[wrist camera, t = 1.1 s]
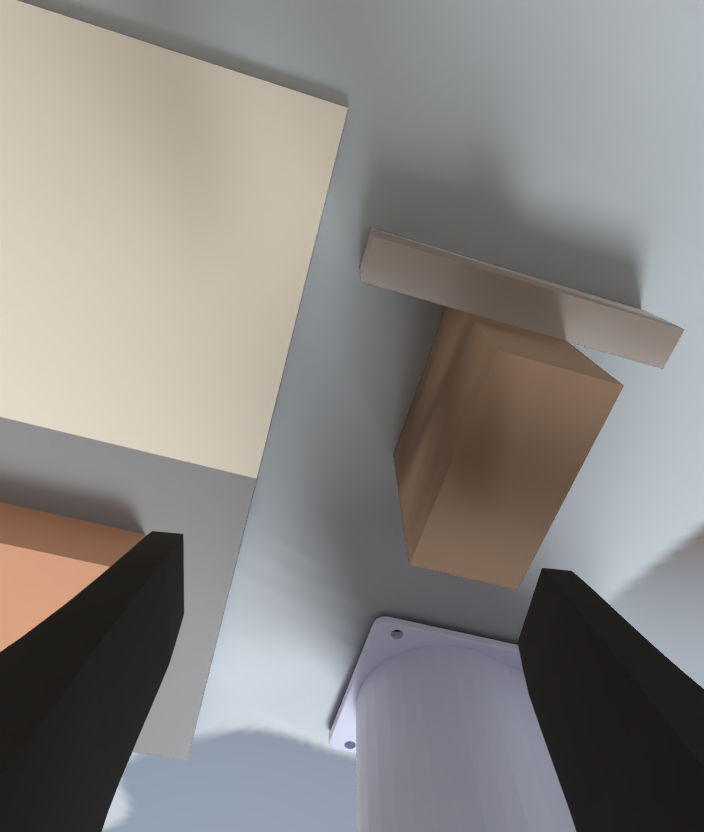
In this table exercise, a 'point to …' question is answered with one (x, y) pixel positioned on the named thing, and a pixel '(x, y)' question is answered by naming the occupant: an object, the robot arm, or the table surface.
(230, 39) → the table surface
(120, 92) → the board
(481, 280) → the pusher
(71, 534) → the terracotta tile
